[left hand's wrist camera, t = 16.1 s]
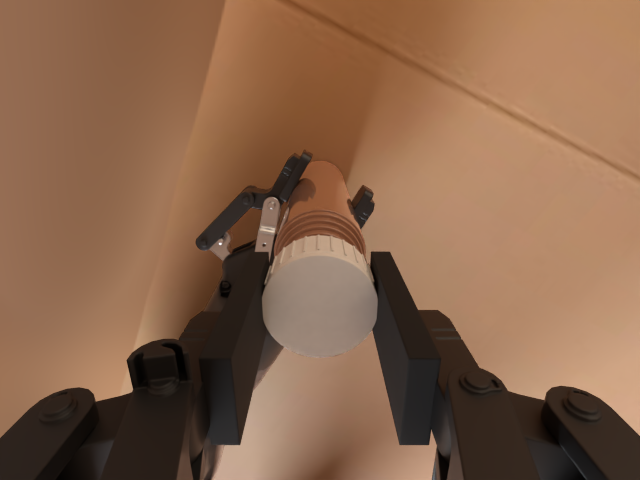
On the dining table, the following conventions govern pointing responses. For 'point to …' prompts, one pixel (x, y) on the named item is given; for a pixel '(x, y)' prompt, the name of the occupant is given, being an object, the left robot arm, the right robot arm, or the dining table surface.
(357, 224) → the bottle
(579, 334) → the dining table surface
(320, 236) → the cap
